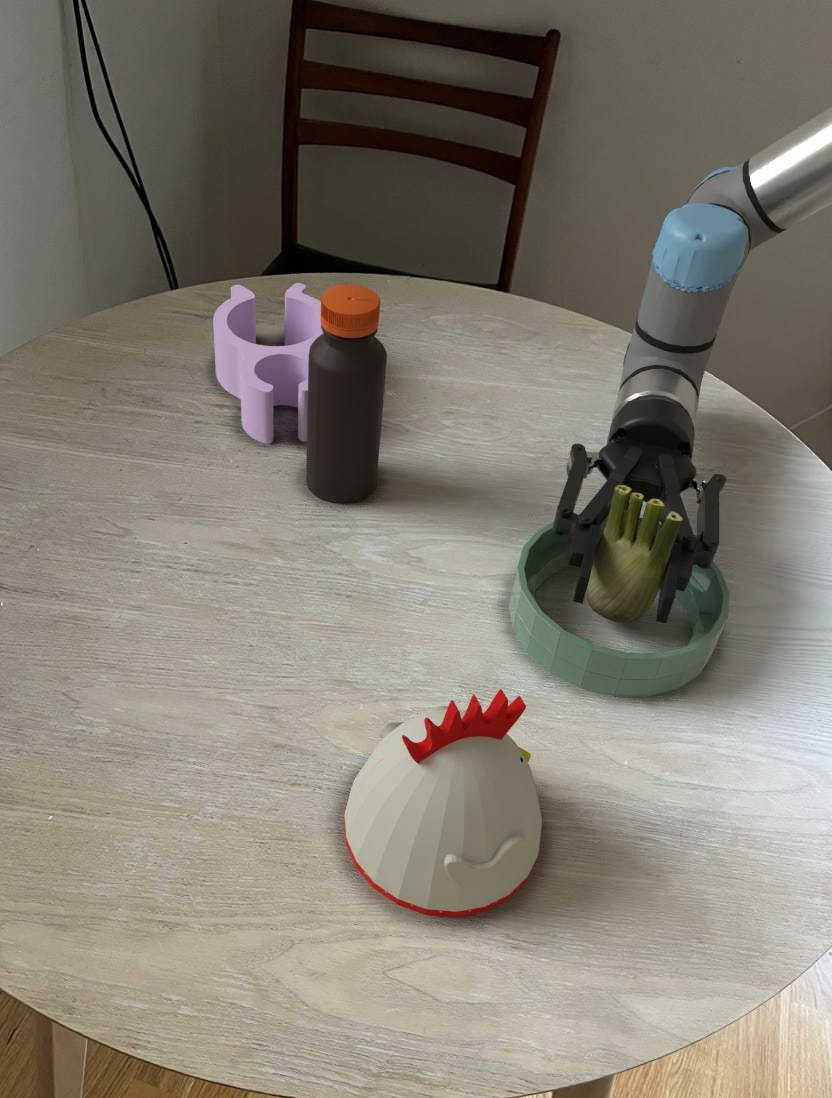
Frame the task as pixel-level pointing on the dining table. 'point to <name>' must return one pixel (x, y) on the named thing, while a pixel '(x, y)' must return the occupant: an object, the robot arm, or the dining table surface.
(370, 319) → the bottle
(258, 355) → the clip
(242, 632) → the dining table surface
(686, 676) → the green faceted ring
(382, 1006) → the dining table surface
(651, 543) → the fennel bulb
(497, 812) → the kitchen timer
